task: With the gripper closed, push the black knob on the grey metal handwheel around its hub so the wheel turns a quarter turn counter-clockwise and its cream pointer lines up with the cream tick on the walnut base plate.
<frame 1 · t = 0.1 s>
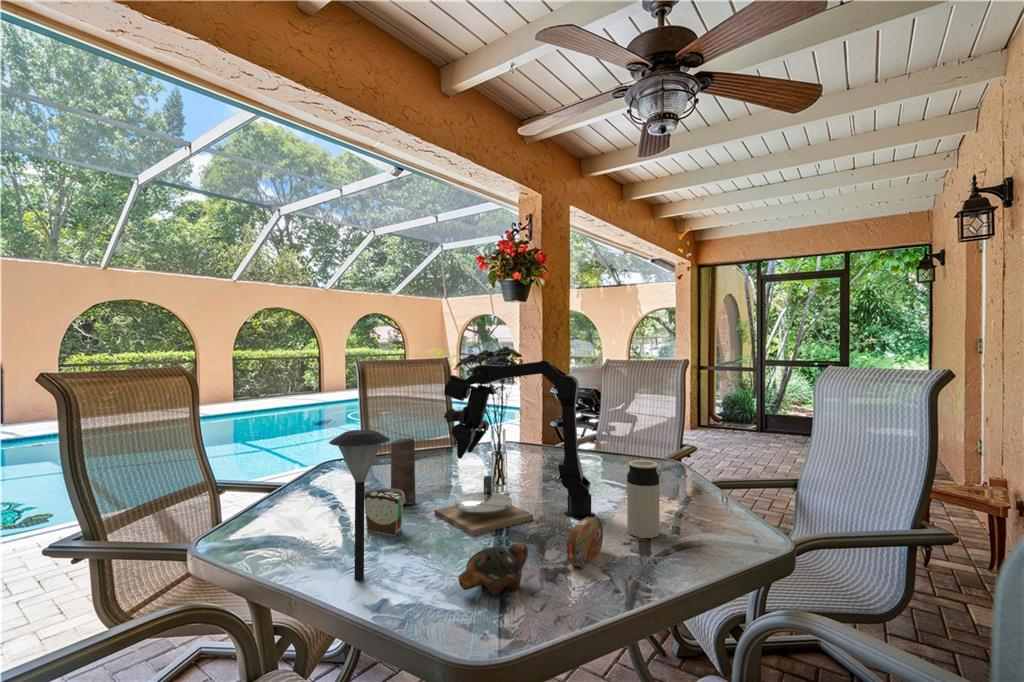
hand: (464, 455, 147), 15 cm above the table, tool pointing down, fingers open, 9 cm apart
base plate: (483, 517, 137), on the table
handwheel: (483, 496, 138), point 6 cm above the table, hinge at 0.0°
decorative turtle: (494, 589, 96), on the table
travel mug: (643, 534, 125), on the table
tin: (585, 560, 110), on the table
candle: (402, 504, 150), on the table
food container: (388, 530, 128), on the table
solar garden light: (359, 579, 100), on the table
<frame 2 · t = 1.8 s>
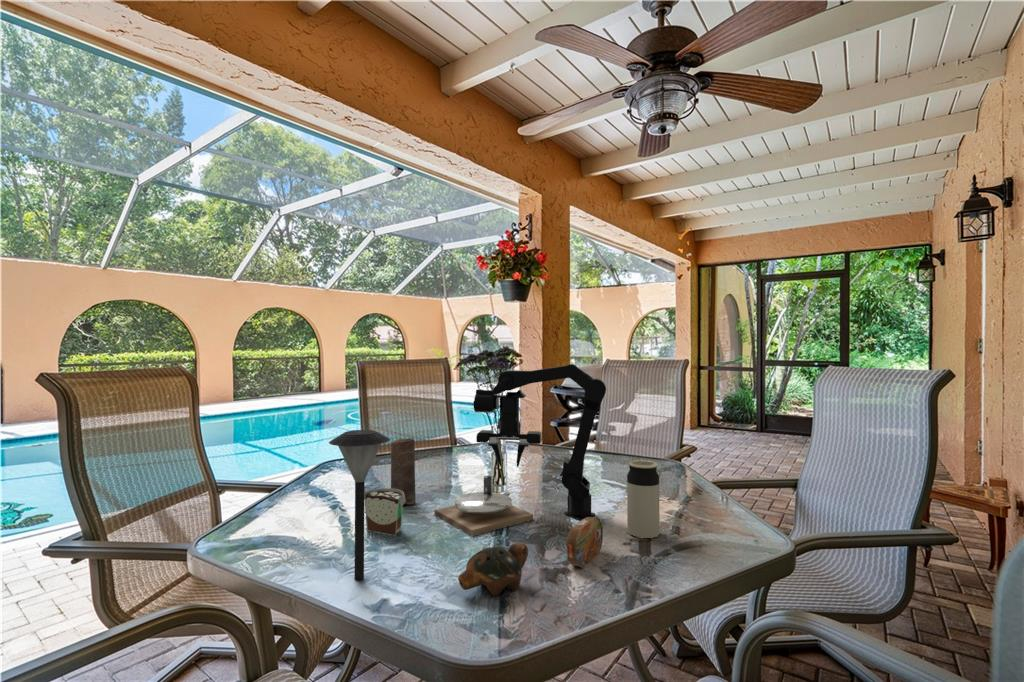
hand: (509, 466, 143), 13 cm above the table, tool pointing down, fingers open, 5 cm apart
nothing on the table moved.
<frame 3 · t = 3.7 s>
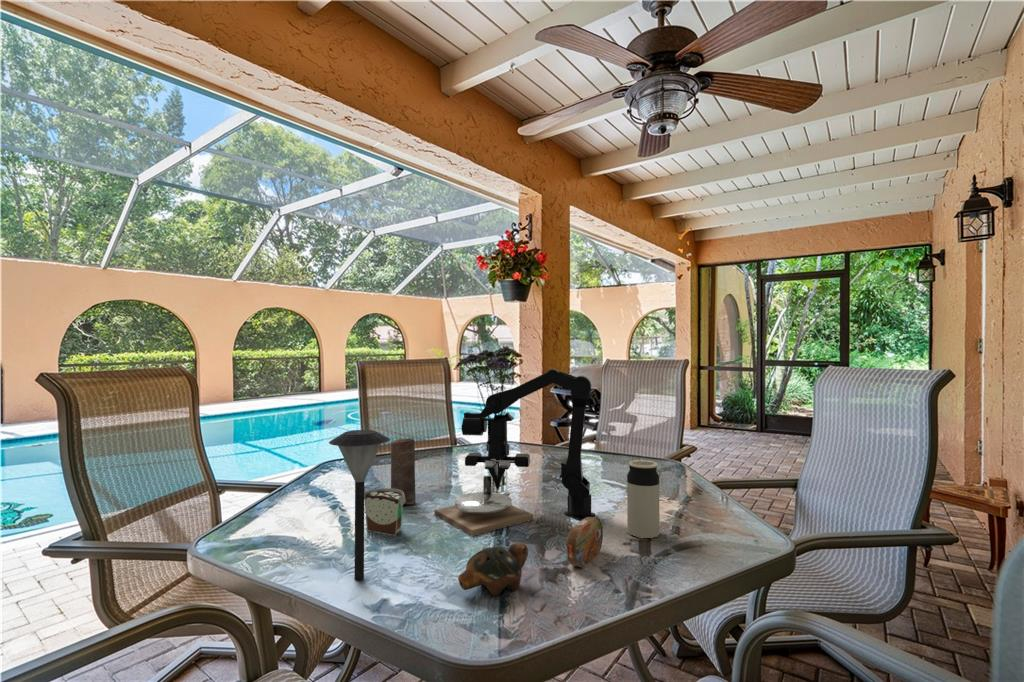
hand: (498, 489, 144), 6 cm above the table, tool pointing down, fingers closed
handwheel: (483, 496, 138), point 6 cm above the table, hinge at 0.6°, touching gripper
everything else where it was.
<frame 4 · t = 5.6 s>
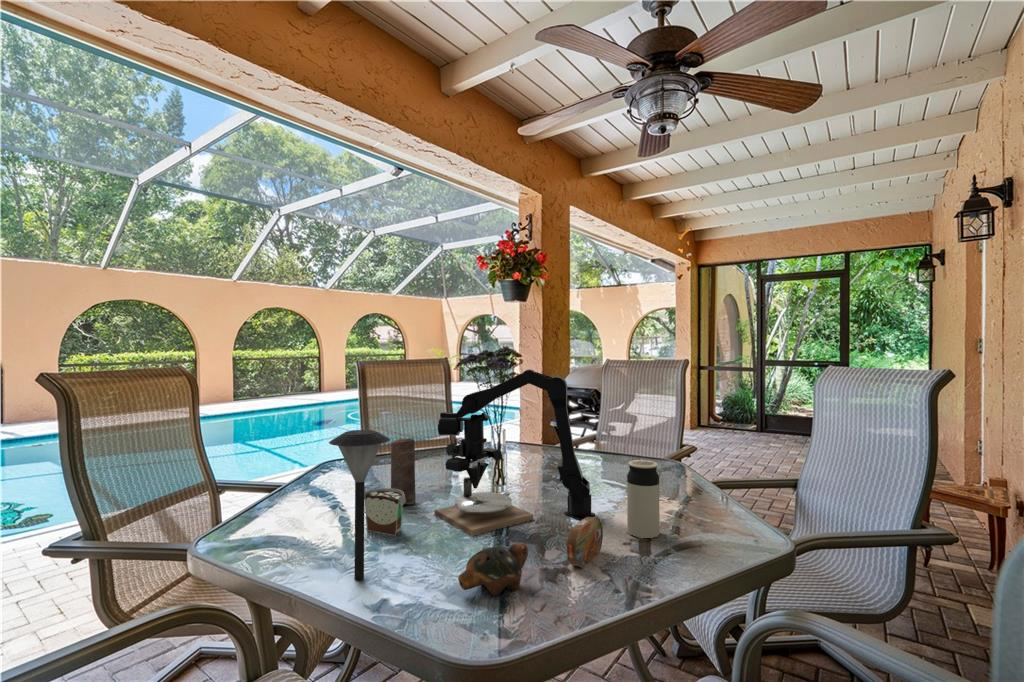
hand: (475, 488, 144), 6 cm above the table, tool pointing down, fingers closed
handwheel: (483, 496, 138), point 6 cm above the table, hinge at 56.1°, touching gripper
everything else where it was.
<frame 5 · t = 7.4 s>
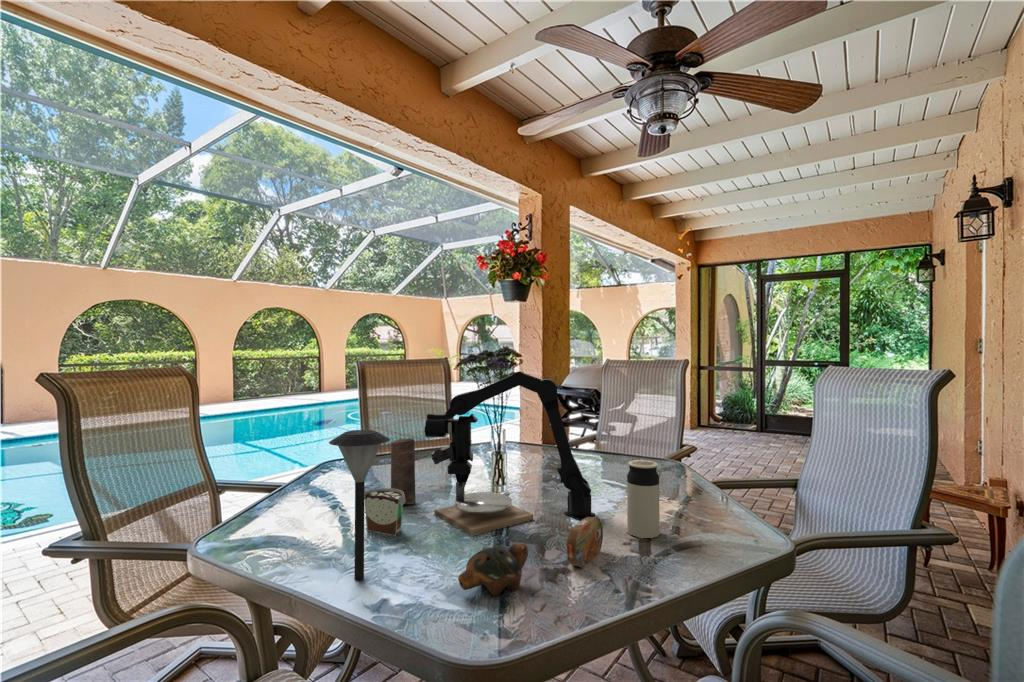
hand: (461, 491, 141), 6 cm above the table, tool pointing down, fingers closed
handwheel: (483, 496, 138), point 6 cm above the table, hinge at 99.4°
everything else where it was.
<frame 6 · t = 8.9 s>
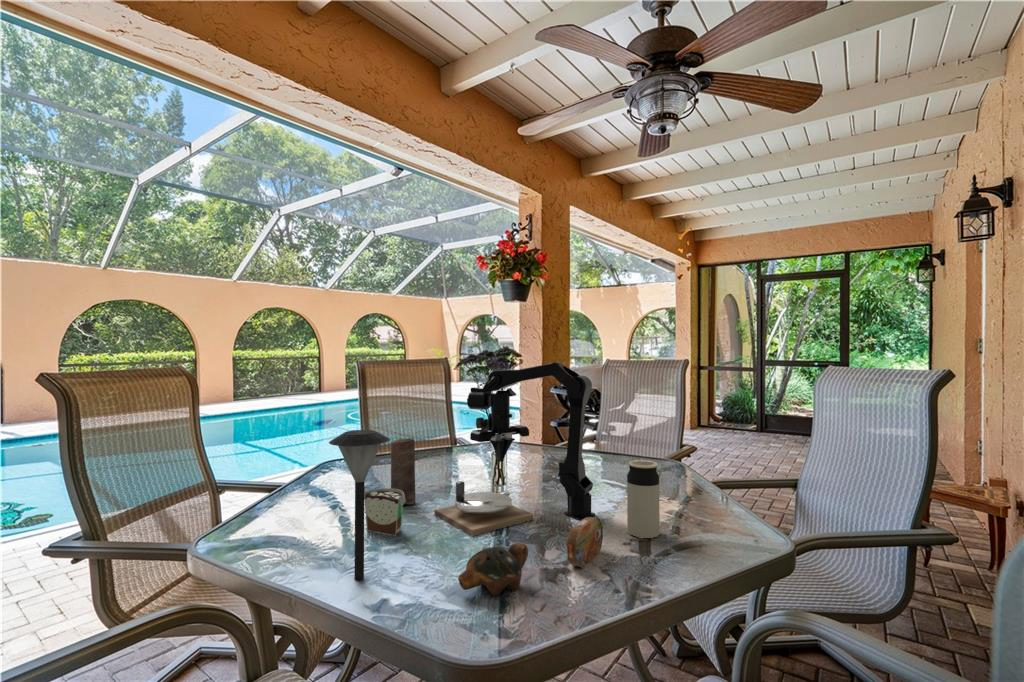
hand: (500, 461, 150), 13 cm above the table, tool pointing down, fingers closed
nothing on the table moved.
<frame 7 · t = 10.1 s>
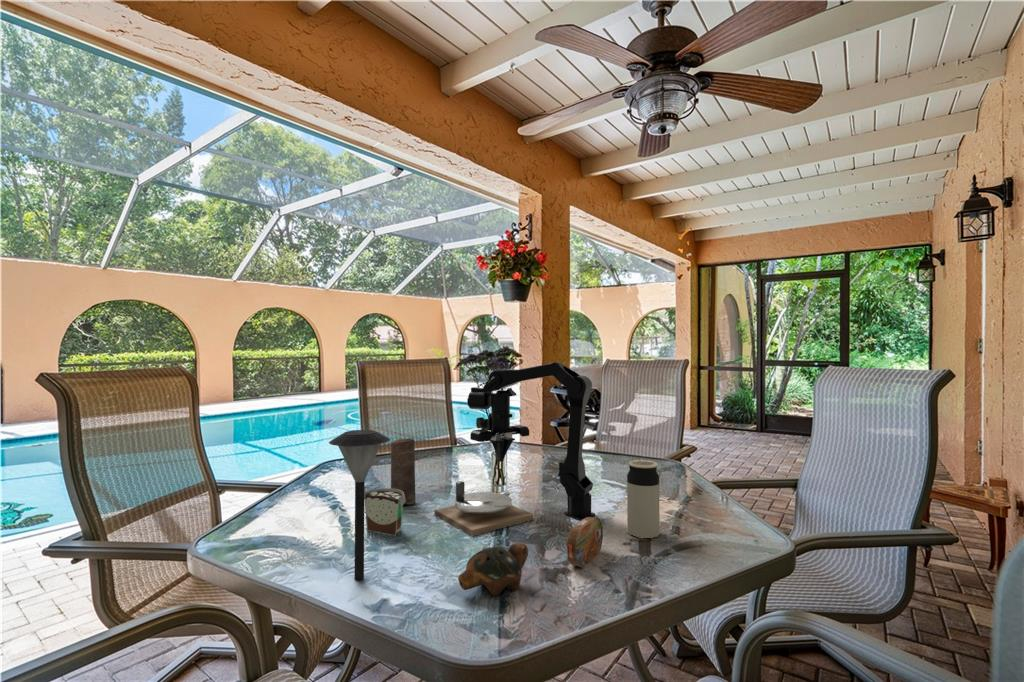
hand: (500, 461, 150), 13 cm above the table, tool pointing down, fingers closed
nothing on the table moved.
at the end: handwheel at +99° (first picture: +0°) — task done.
